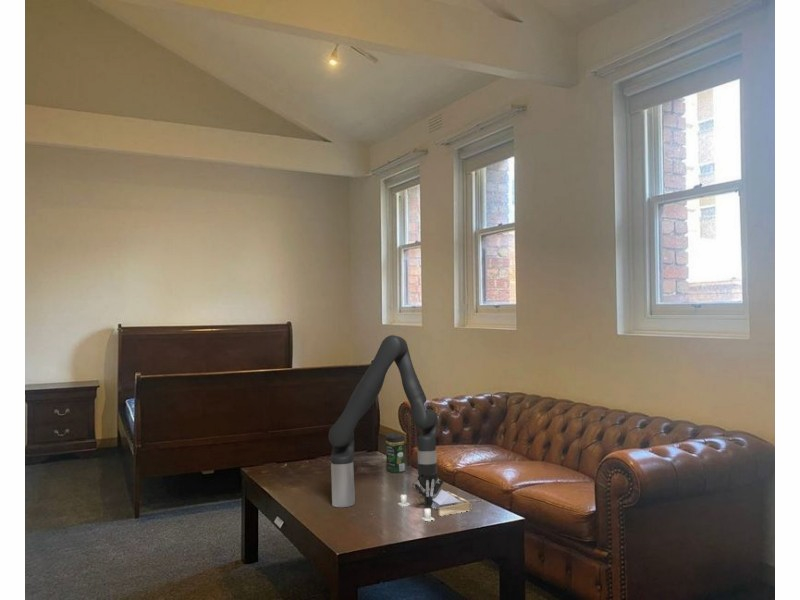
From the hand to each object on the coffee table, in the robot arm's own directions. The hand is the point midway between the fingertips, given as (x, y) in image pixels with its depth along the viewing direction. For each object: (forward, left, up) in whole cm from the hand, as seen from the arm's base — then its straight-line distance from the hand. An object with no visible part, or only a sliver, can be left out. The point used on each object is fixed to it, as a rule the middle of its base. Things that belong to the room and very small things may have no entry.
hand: (428, 505), depth 242 cm
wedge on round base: (0, +7, -2) cm, 7 cm away
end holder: (0, +6, -2) cm, 6 cm away
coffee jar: (-62, +14, -2) cm, 64 cm away
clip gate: (0, -6, -2) cm, 6 cm away
